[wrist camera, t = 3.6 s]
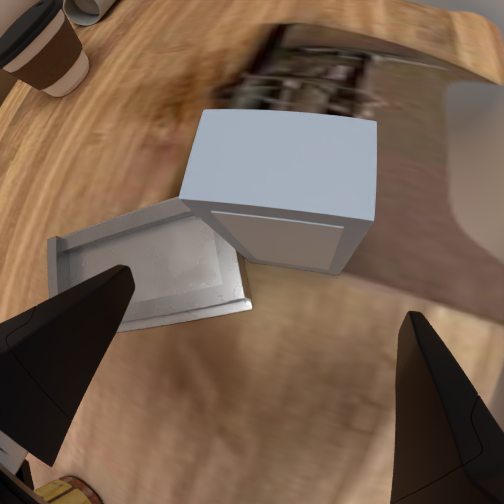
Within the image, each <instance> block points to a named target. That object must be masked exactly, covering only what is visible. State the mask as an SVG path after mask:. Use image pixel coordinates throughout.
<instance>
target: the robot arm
mask: <svg viewBox="0 0 504 504" xmlns="http://www.w3.org/2000/svg"><path fill="white" fill-rule="evenodd" d="M134 291H135V281H134V278H133V275H132V271H131V268H130V267H129V266H127V265H122V264H118V265H116V266H114V267H112V268H110V269H108V270H106V271H103V272H101V273H99V274H97V275H95V276H93V277H91V278H89V279H87V280H85V281H83V282H81V283H79V284H77V285H75V286H73V287H71V288H69V289H67V290H65V291H63V292H61V293H59V294H58V295H56V296H54V297H52V298H50V299H48V300H46V301H44V302H42V303H40V304H38V305H37V306H34V307H33V308H31V309H29V310H27V311H25V312H23V313H21V314H19V315H17V316H15V317H13V318H11V319H9V320H6V321H4V322H2V323H0V504H49V503H48V502H46V501H45V500H44V499H42V498H41V497H40V496H39V495H37V494H36V493H35V492H33V490H34V485H33V481H32V476H31V471H30V466H29V462H28V461H27V460H26V459H25V458H26V456H27V454H28V453H31V454H32V455H34V456H35V457H37V458H38V459H39V460H41V461H42V462H44V463H45V464H47V465H49V466H50V467H52V466H53V464H54V462H55V460H56V457H57V455H58V453H59V450H60V448H61V445H62V443H63V441H64V438H65V436H66V434H67V432H68V429H69V427H70V425H71V423H72V421H71V420H73V418H74V416H75V414H76V411H77V409H78V407H79V405H80V403H81V401H82V399H83V396H84V394H85V392H86V390H87V388H88V386H89V384H90V382H91V380H92V378H93V376H94V374H95V372H96V370H97V368H98V366H99V364H100V362H101V360H102V358H103V356H104V354H105V353H106V351H107V349H108V347H109V345H110V343H111V341H112V339H113V337H114V336H115V334H116V332H117V330H118V328H119V326H120V324H121V322H122V319H123V317H124V315H125V312H126V310H127V308H128V305H129V303H130V301H131V298H132V296H133V294H134ZM395 391H396V424H395V452H394V468H393V480H392V491H391V500H390V504H504V432H503V430H502V429H501V428H500V426H499V425H498V423H497V422H496V420H495V419H494V418H493V416H492V414H491V413H490V411H489V410H488V408H487V407H486V405H485V404H484V402H483V400H482V399H481V397H480V396H479V395H478V393H477V391H476V389H475V388H474V386H473V385H472V383H471V382H470V380H469V379H468V377H467V376H466V374H465V373H464V371H463V370H462V368H461V367H460V365H459V364H458V362H457V361H456V359H455V358H454V357H453V355H452V354H451V352H450V351H449V349H448V348H447V347H446V345H445V344H444V342H443V341H442V340H441V338H440V337H439V335H438V334H437V333H436V331H435V330H434V329H433V327H432V326H431V325H430V323H429V322H428V321H427V319H426V318H425V317H424V315H423V314H422V313H421V312H417V311H408V312H407V314H406V316H405V318H404V321H403V323H402V325H401V328H400V330H399V334H398V350H397V366H396V379H395Z"/></svg>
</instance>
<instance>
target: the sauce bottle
mask: <svg viewBox="0 0 504 504" xmlns="http://www.w3.org/2000/svg"><path fill="white" fill-rule="evenodd" d="M33 492H35V493H36V494H37V495H39V496H40V497H41V498H42V499H44V500H45V501H46V502H48V503H49V504H101V502H100V500H99V497H97V496H96V494H95V493H94V492H93V491H92V490H91V489H89V487H88V486H87V485H85V484H84V483H83V482H82V481H80V480H78V479H76V478H73V477H66V476H65V477H61V478H60V479H59V480H54V481H52V482H50V483H48V484H46V485H44V486H42V487H40V488H38V489H36V490H34V491H33Z"/></svg>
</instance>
